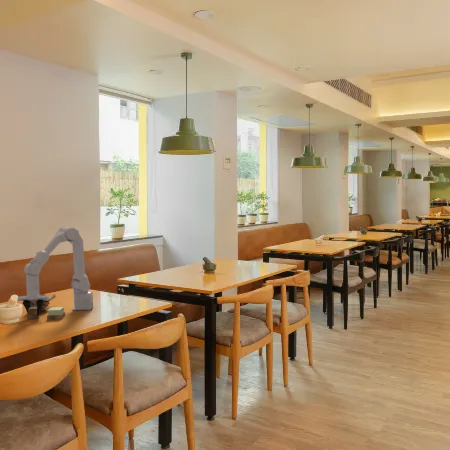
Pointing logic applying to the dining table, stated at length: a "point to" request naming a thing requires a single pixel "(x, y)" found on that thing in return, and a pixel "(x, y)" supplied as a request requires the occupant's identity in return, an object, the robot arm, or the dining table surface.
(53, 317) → the slab bottom
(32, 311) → the walnut block
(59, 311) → the slab top
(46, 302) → the pine cone
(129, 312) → the dining table surface
